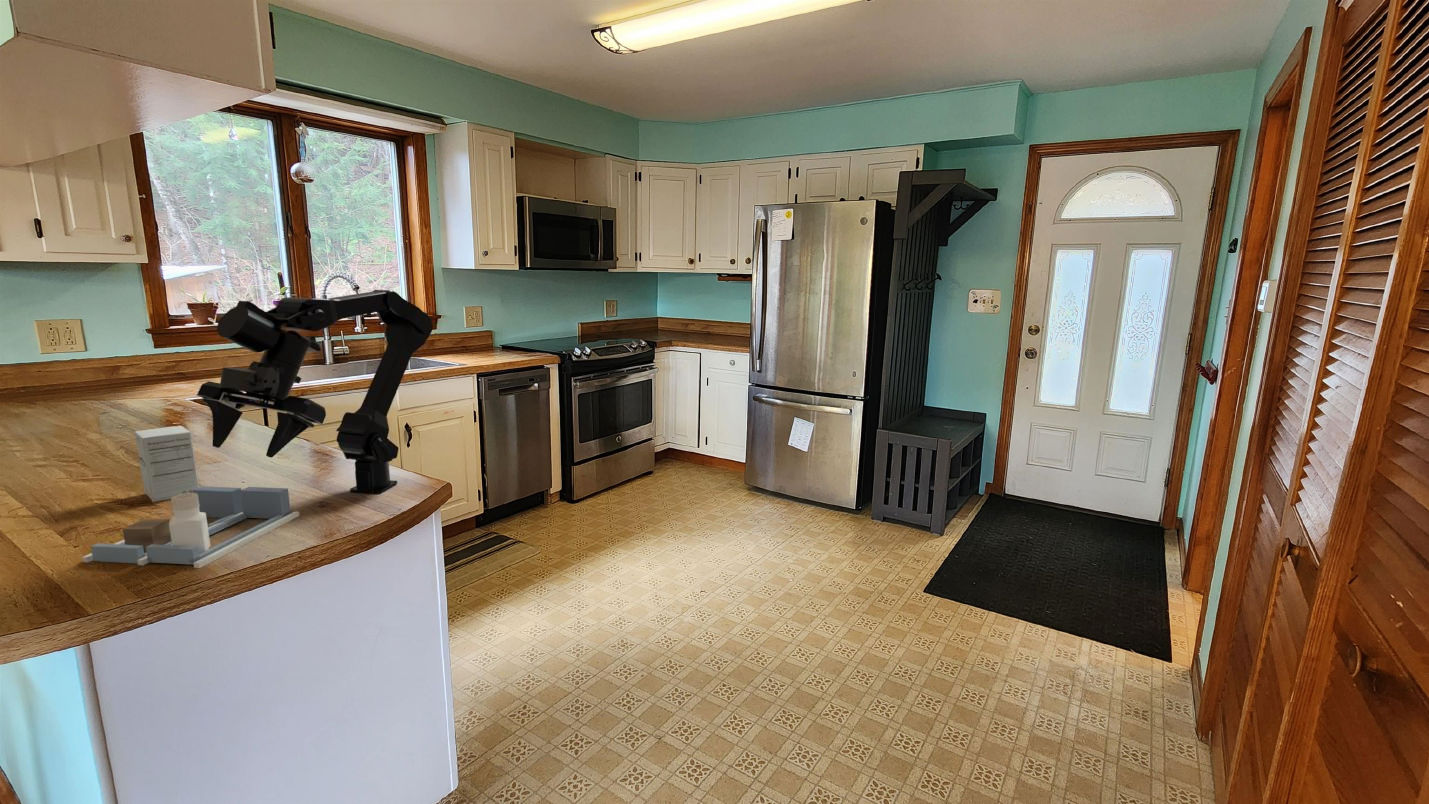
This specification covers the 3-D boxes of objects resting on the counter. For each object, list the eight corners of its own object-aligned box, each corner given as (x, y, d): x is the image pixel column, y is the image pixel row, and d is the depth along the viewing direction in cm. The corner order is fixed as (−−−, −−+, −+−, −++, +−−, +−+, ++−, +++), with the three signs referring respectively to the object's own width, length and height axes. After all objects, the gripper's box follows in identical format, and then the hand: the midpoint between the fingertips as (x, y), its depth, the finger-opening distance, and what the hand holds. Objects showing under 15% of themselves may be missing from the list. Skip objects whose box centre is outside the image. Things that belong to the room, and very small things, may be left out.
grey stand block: (252, 513, 115) (248, 486, 114) (290, 515, 115) (287, 488, 114) (148, 562, 96) (143, 530, 95) (194, 564, 95) (189, 532, 94)
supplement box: (143, 493, 125) (133, 430, 122) (191, 485, 130) (182, 424, 128) (151, 503, 120) (140, 437, 117) (200, 493, 125) (191, 430, 123)
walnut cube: (146, 542, 103) (142, 519, 102) (173, 542, 104) (169, 518, 103) (126, 553, 99) (122, 529, 98) (154, 552, 100) (150, 528, 99)
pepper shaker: (179, 552, 100) (170, 494, 98) (211, 547, 102) (203, 490, 100) (173, 562, 96) (164, 502, 94) (207, 557, 98) (198, 498, 96)
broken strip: (206, 512, 116) (202, 486, 115) (244, 514, 115) (241, 487, 114) (93, 560, 96) (87, 529, 95) (139, 563, 96) (133, 531, 95)
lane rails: (202, 511, 116) (201, 507, 116) (299, 515, 115) (298, 511, 115) (82, 562, 96) (81, 557, 96) (199, 568, 95) (198, 563, 94)
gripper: (192, 335, 102) (147, 427, 97) (303, 354, 101) (263, 449, 96) (241, 362, 113) (202, 447, 108) (342, 380, 112) (307, 466, 107)
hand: (242, 451), depth 104 cm, fingers open, 9 cm apart
